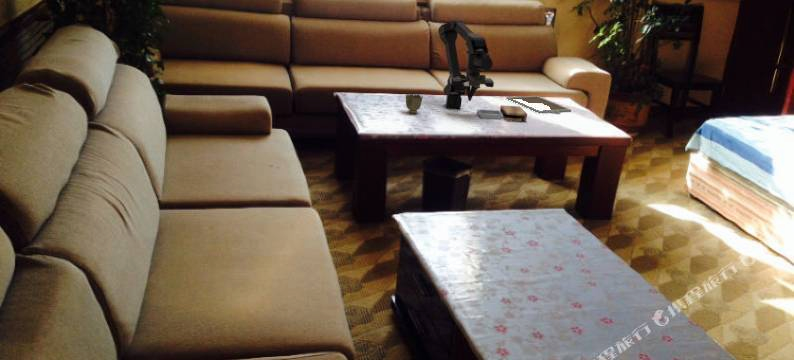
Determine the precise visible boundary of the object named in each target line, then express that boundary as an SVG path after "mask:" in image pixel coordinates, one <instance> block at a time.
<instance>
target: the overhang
mask: <svg viewBox="0 0 794 360" xmlns="http://www.w3.org/2000/svg"><path fill="white" fill-rule="evenodd" d="M499 111H500V112H501V113H502V114H507V115H506V116H516V117H505V120H512V121H511V122H522V121H523V123H527V119H528V113H527V112H526V111H525V110H524V109H523V108H522V106H520V105H519V106H517V105H500V109H499ZM513 120H514V121H513Z"/></svg>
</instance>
